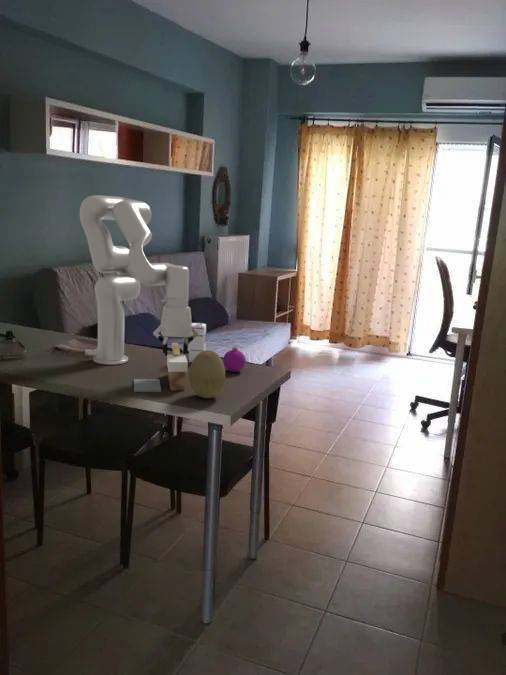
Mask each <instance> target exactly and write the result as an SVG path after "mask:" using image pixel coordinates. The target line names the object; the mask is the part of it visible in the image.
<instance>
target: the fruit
mask: <svg viewBox="0 0 506 675" xmlns="http://www.w3.org/2000/svg"><path fill="white" fill-rule="evenodd" d="M225 369H226V368H225V366H224V364H223V358H221V356H220V355H219V354H218V353H217V352H216V351H214V350H210V349H209V350H205V351H202V352H200V353H199V354H198V355H197V356H196V357H195V358H194V360H193V361H192V363H190V366H189V371H188V380H189V384H190V387H191V389H192V391H193V392H194V393H195V395H197V396H198V397H199V398H202V399H212V398H215V397H216V396H218V395H219V394H220V393H221V392H222V390H223V388H224V385H225V382H226V370H225Z"/></svg>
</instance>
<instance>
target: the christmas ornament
mask: <svg viewBox="0 0 506 675" xmlns="http://www.w3.org/2000/svg"><path fill="white" fill-rule="evenodd" d="M238 349H239V348H238V347H237V346H232V349H231V350H228V351H226V353H225V354H224V355H223V358H222V361H223V364H224V368H225V369H226V370H228V371H229V372H232V373H237V372H239V371H241V370H243V368H244V367H245V365H246V356H245V354H244V353H243V352H242V351H241V350H238Z"/></svg>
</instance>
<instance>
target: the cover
mask: <svg viewBox="0 0 506 675" xmlns="http://www.w3.org/2000/svg"><path fill="white" fill-rule="evenodd" d="M186 356H187V355H186ZM186 356H185V355H183V354H180V355H173V353H172V354H170V353H169V354H168V353H167V356H166V366H167V373H168V372H185V373H187V372H189V371H188V367H189V366H188V364H189V360H188V359H187V357H186Z"/></svg>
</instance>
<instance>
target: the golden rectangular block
mask: <svg viewBox="0 0 506 675" xmlns="http://www.w3.org/2000/svg"><path fill="white" fill-rule="evenodd" d="M171 351H172V354H173V355H181V353H180V351H181V348H180V345H179V343H178V342H171Z"/></svg>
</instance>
